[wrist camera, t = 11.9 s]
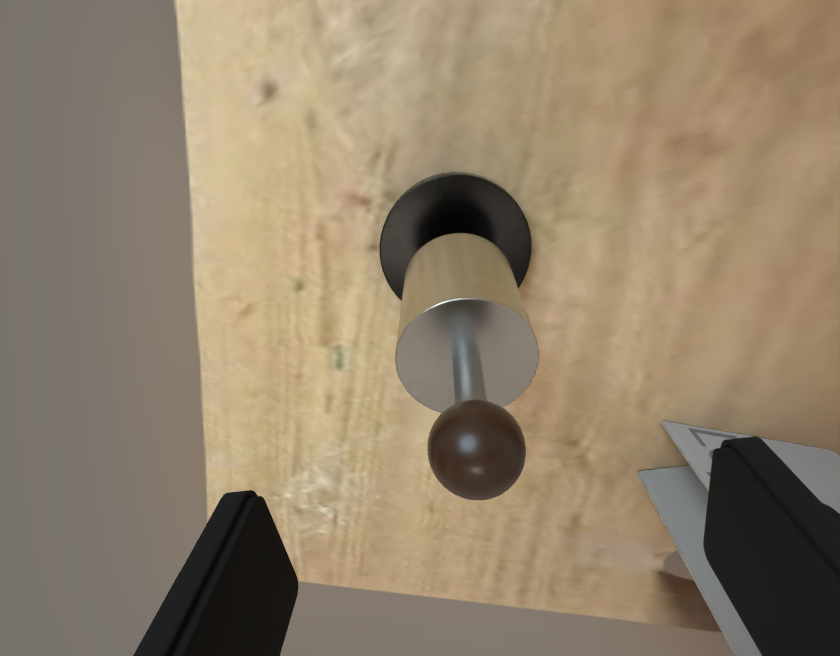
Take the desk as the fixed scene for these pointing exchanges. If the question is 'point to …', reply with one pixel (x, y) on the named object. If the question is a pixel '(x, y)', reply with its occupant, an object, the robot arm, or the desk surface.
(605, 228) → the desk surface
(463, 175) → the holder base
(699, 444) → the brochure
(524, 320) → the knobbed metal cylinder
